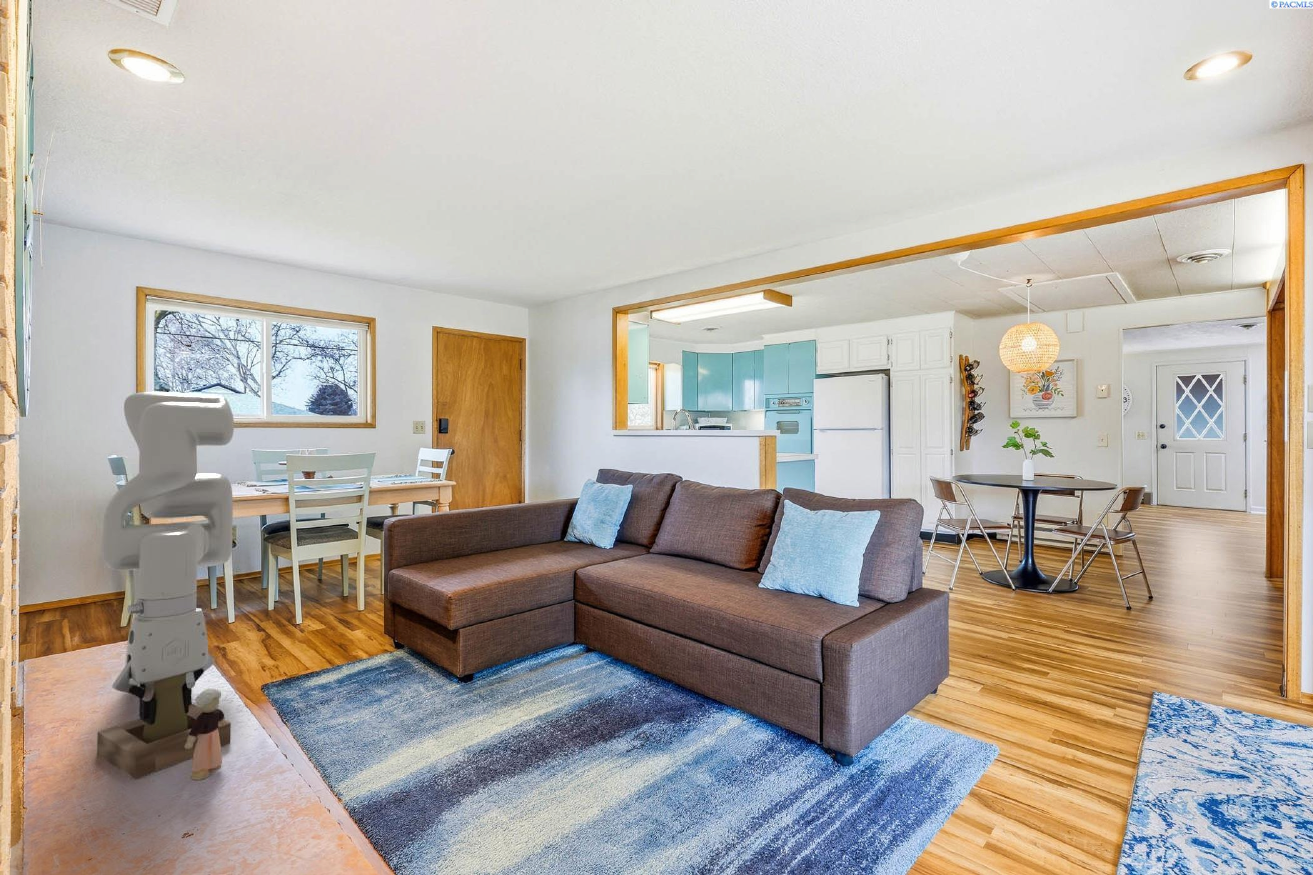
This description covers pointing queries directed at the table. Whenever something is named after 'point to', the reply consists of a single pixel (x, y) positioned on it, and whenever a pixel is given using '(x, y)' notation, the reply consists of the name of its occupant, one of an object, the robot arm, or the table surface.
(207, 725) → the grandmother figurine
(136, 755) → the socket block
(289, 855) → the table surface
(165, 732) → the cork
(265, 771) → the table surface
